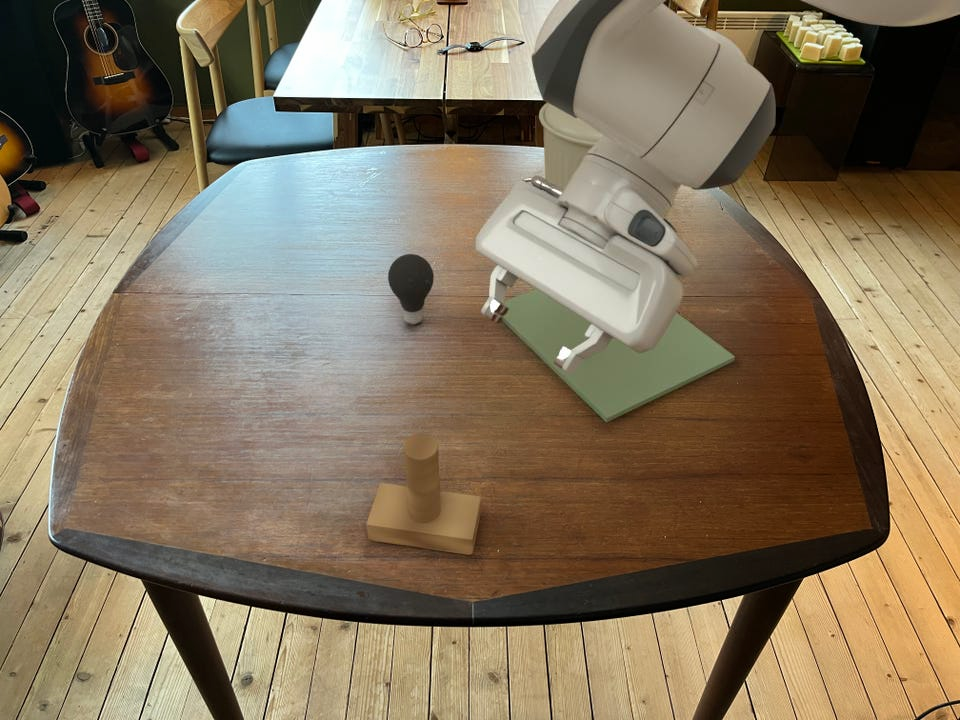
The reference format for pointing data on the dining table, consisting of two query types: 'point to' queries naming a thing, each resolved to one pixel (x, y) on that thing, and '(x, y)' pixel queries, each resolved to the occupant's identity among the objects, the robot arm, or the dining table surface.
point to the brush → (424, 506)
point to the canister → (564, 143)
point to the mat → (614, 356)
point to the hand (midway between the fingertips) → (524, 343)
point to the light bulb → (411, 284)
